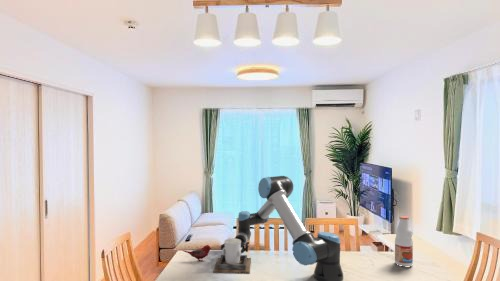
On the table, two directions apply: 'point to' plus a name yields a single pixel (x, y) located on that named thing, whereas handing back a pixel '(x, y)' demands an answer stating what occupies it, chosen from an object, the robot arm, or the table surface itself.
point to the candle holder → (232, 250)
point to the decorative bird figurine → (200, 252)
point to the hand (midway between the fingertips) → (230, 253)
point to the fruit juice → (403, 243)
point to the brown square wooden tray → (232, 265)
